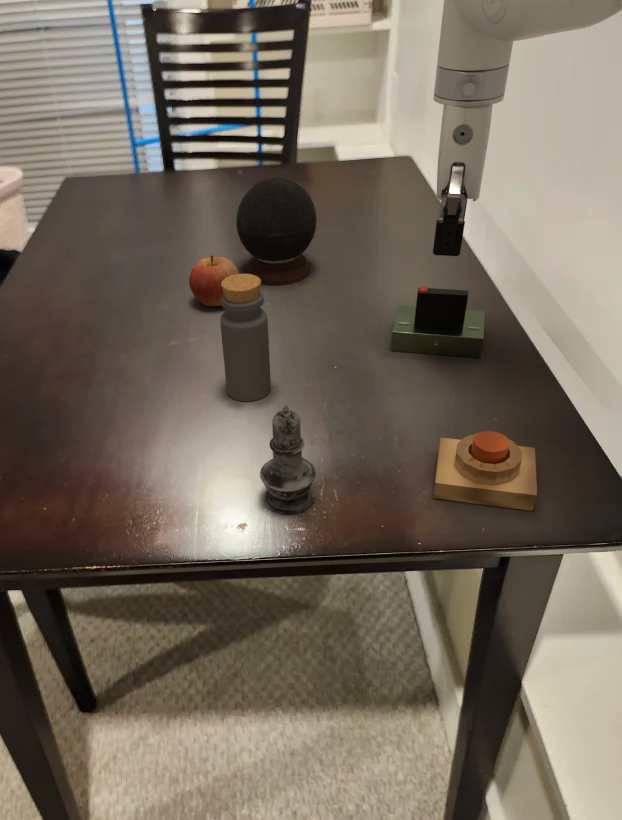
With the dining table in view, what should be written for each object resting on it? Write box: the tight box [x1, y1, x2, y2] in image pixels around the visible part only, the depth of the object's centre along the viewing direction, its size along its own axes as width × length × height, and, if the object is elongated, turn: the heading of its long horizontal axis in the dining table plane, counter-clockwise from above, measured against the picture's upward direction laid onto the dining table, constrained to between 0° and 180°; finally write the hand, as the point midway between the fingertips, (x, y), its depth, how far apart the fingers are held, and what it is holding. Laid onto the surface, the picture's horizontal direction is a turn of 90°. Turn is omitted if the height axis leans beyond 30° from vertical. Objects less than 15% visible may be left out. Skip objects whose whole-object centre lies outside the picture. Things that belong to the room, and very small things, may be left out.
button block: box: [432, 432, 538, 512], centre depth 73 cm, size 10×8×4 cm
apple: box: [188, 254, 240, 307], centre depth 108 cm, size 8×8×8 cm
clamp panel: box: [390, 305, 486, 359], centre depth 95 cm, size 12×11×3 cm
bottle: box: [219, 273, 272, 402], centre depth 86 cm, size 6×6×15 cm
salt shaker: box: [259, 404, 317, 516], centre depth 70 cm, size 6×6×12 cm
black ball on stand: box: [236, 177, 318, 286], centre depth 113 cm, size 13×13×15 cm
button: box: [471, 430, 510, 464], centre depth 72 cm, size 4×4×2 cm
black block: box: [414, 286, 469, 330], centre depth 93 cm, size 6×2×5 cm, turn 74°
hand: (448, 238), depth 87 cm, fingers open, 9 cm apart
